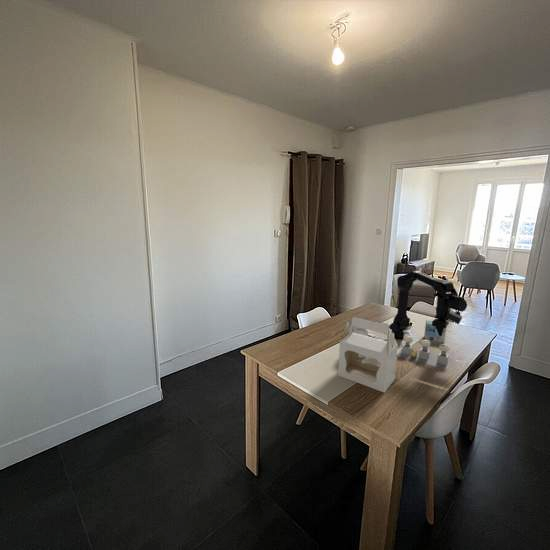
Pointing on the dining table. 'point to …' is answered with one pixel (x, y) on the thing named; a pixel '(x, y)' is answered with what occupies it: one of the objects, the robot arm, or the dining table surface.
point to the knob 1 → (408, 340)
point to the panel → (426, 357)
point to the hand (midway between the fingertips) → (440, 335)
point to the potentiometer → (413, 354)
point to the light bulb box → (433, 332)
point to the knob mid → (425, 344)
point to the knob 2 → (444, 349)
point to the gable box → (368, 355)
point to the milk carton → (362, 332)
